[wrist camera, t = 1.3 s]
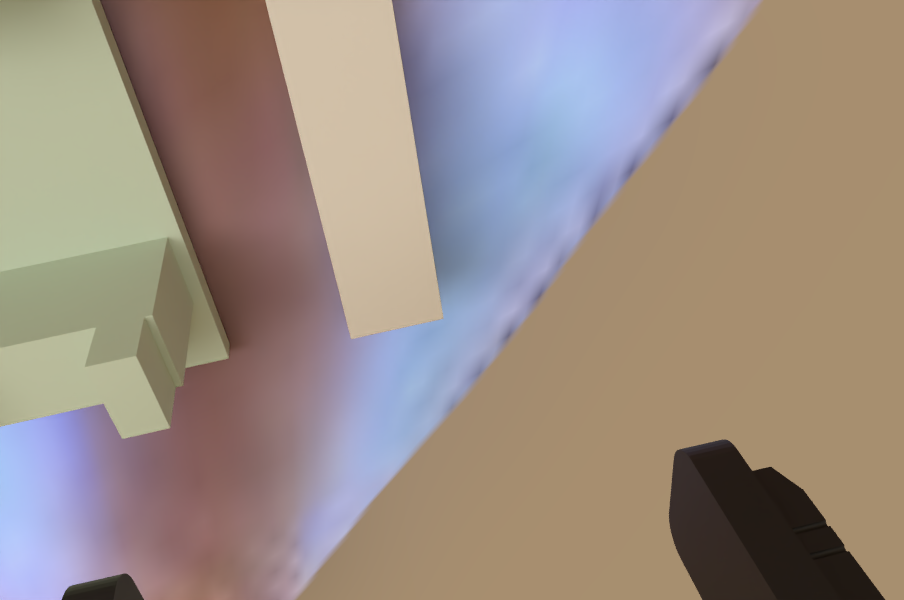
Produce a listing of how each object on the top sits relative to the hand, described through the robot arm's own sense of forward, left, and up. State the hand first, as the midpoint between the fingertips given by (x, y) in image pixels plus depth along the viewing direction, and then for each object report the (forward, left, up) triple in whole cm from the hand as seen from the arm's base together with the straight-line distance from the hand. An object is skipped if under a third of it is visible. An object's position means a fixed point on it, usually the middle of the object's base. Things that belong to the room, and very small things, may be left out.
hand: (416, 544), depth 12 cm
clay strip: (-1, +1, -21) cm, 21 cm away
